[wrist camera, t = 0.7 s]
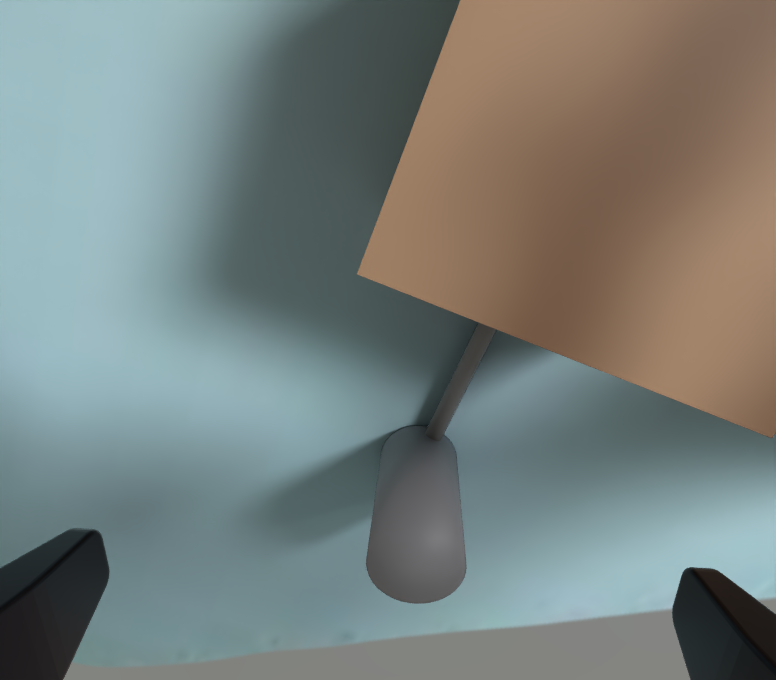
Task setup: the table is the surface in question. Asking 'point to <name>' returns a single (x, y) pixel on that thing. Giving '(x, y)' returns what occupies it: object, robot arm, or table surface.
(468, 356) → the tethered block
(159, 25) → the table surface
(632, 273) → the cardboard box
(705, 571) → the robot arm
